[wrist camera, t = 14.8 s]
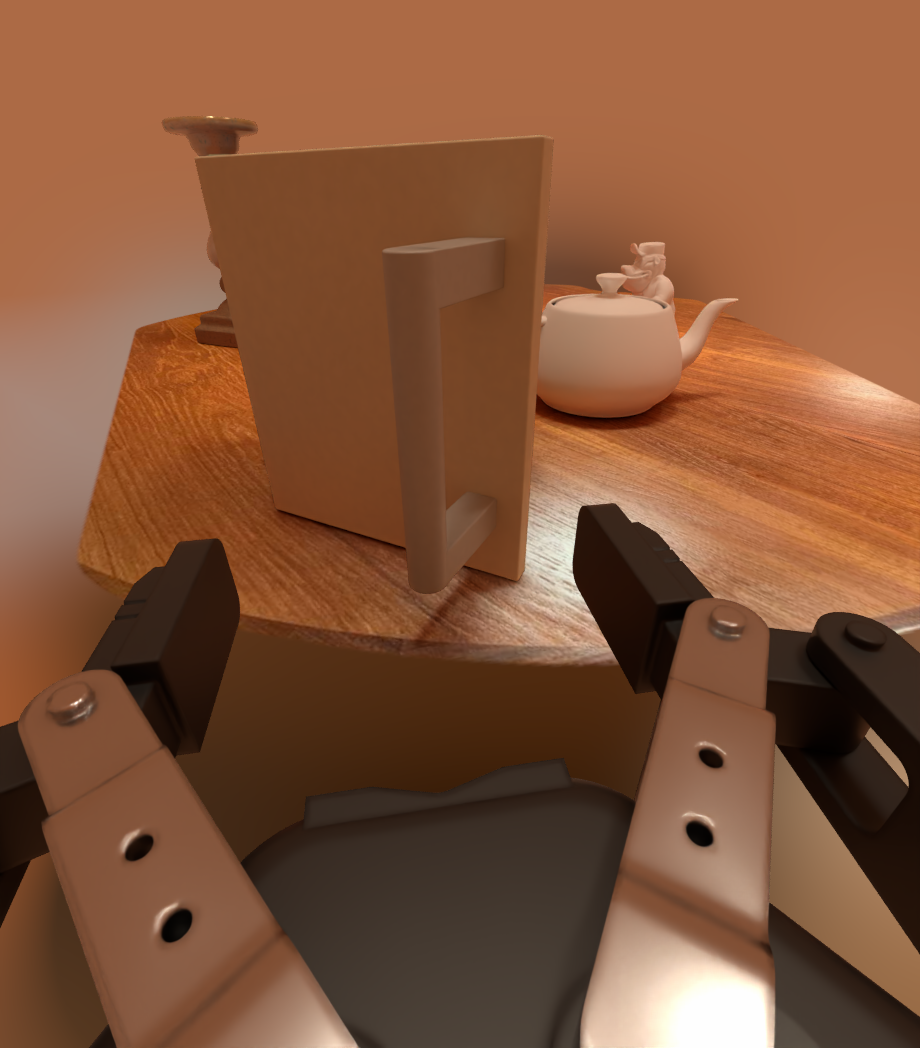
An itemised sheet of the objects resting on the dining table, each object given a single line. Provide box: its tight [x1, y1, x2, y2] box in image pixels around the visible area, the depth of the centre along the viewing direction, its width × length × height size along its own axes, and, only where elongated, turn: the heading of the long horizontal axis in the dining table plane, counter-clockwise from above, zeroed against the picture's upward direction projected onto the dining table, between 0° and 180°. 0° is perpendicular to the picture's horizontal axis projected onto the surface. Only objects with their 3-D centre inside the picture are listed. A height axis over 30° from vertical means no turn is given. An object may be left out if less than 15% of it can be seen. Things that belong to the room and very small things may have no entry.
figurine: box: [621, 242, 675, 315], centre depth 57 cm, size 9×7×12 cm
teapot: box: [537, 273, 739, 418], centre depth 46 cm, size 22×14×11 cm, turn 97°
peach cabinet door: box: [195, 135, 554, 594], centre depth 22 cm, size 7×16×18 cm, turn 63°
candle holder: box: [162, 116, 258, 348], centre depth 66 cm, size 11×11×24 cm
